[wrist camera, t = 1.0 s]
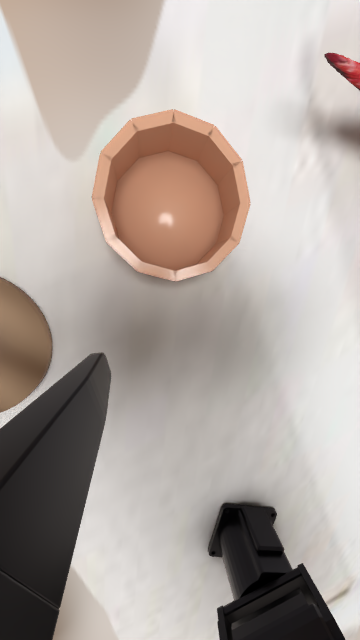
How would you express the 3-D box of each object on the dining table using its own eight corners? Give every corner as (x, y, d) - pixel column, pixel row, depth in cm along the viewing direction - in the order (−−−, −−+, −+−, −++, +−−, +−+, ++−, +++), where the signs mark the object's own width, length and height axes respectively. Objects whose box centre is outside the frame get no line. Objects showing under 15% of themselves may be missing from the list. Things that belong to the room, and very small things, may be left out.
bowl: (208, 290, 22) (224, 294, 17) (95, 260, 20) (80, 257, 16) (240, 173, 20) (266, 145, 16) (120, 129, 18) (112, 85, 14)
